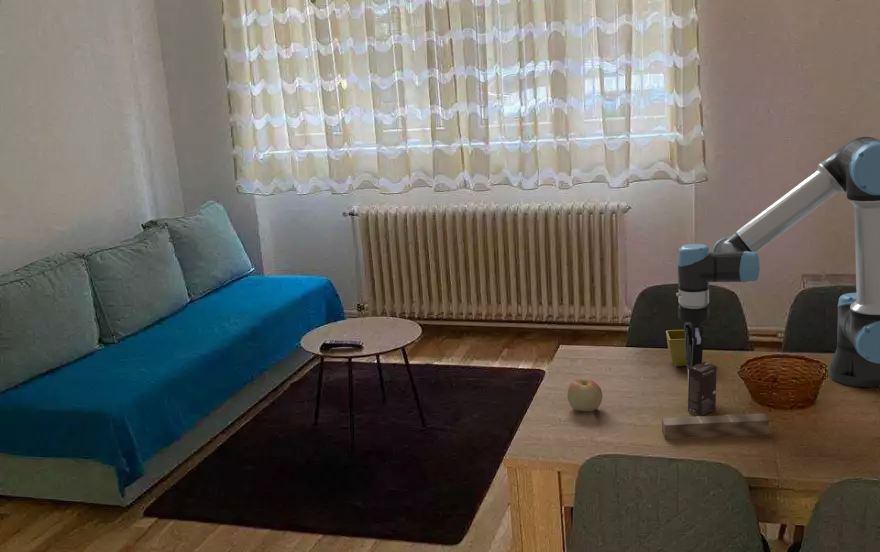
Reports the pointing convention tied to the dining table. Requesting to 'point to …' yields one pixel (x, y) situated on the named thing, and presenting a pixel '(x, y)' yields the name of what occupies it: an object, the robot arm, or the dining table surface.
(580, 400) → the apple
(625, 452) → the dining table surface
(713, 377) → the box
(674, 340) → the flower pot
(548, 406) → the dining table surface
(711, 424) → the grey long bar
